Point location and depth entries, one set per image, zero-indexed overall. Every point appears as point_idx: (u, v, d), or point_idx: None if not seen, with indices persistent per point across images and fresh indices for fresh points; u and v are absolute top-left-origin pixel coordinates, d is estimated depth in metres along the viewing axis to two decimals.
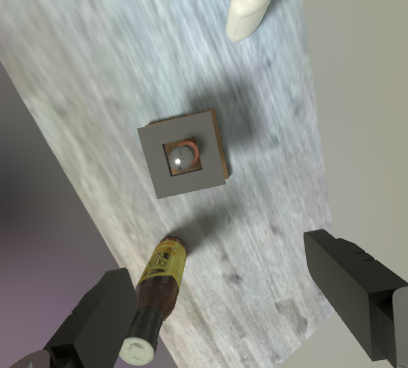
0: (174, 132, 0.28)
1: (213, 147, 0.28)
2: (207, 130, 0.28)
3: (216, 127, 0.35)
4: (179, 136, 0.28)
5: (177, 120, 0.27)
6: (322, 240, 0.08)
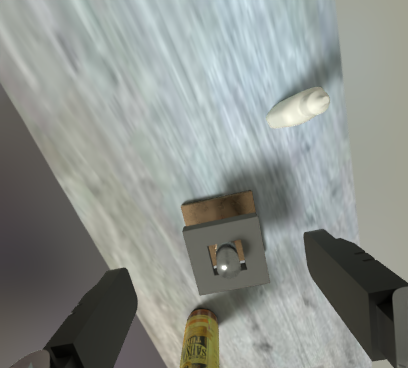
0: (219, 235, 0.27)
1: (259, 249, 0.28)
2: (254, 234, 0.27)
3: (253, 209, 0.35)
4: (225, 239, 0.28)
5: (224, 224, 0.27)
6: (322, 240, 0.08)
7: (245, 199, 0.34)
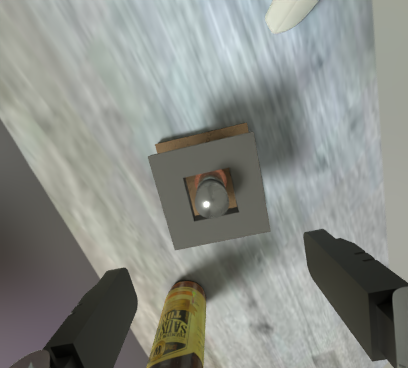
0: (200, 162, 0.20)
1: (255, 182, 0.20)
2: (248, 159, 0.19)
3: None
4: (207, 167, 0.20)
5: (205, 145, 0.19)
6: (322, 240, 0.08)
7: (238, 133, 0.26)
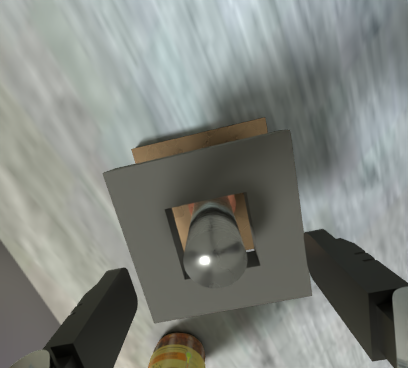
0: (194, 182, 0.11)
1: (289, 216, 0.12)
2: (278, 177, 0.11)
3: None
4: (207, 192, 0.11)
5: (204, 153, 0.11)
6: (322, 240, 0.08)
7: (252, 133, 0.18)
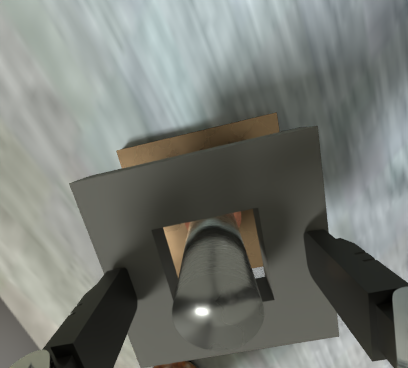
0: (190, 195, 0.09)
1: None
2: (300, 189, 0.08)
3: None
4: (207, 208, 0.09)
5: (202, 158, 0.08)
6: (322, 240, 0.08)
7: (261, 131, 0.15)
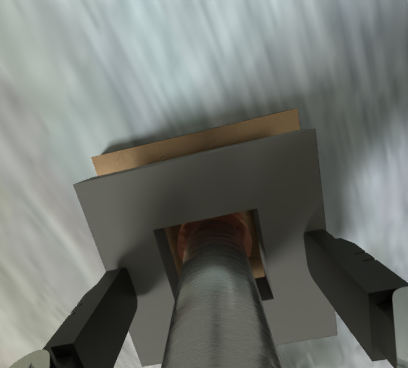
0: (190, 196, 0.09)
1: None
2: (298, 190, 0.09)
3: None
4: (208, 209, 0.09)
5: (203, 159, 0.08)
6: (322, 240, 0.08)
7: (277, 133, 0.12)
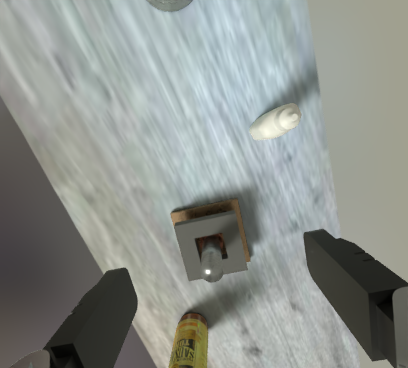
0: (204, 229, 0.33)
1: (237, 241, 0.33)
2: (232, 228, 0.33)
3: (239, 216, 0.36)
4: (209, 232, 0.33)
5: (207, 220, 0.33)
6: (322, 240, 0.08)
7: (231, 206, 0.36)
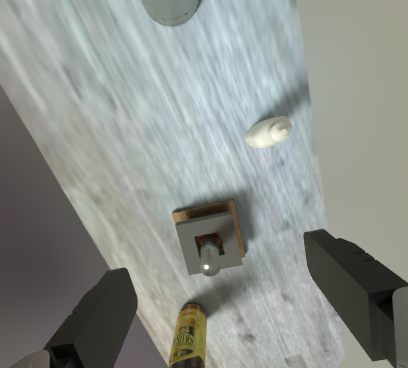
0: (203, 228, 0.36)
1: (233, 239, 0.37)
2: (229, 227, 0.36)
3: (235, 215, 0.40)
4: (207, 231, 0.36)
5: (206, 220, 0.36)
6: (322, 240, 0.08)
7: (228, 207, 0.39)
